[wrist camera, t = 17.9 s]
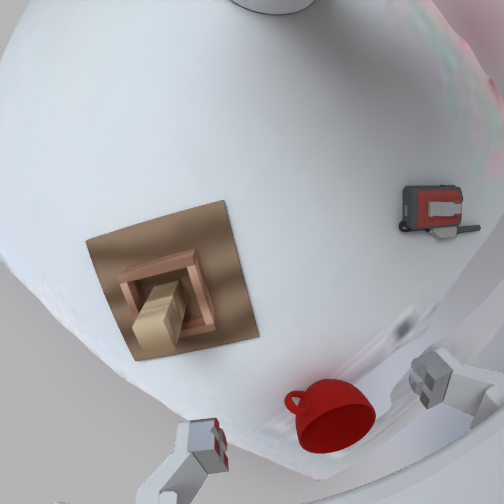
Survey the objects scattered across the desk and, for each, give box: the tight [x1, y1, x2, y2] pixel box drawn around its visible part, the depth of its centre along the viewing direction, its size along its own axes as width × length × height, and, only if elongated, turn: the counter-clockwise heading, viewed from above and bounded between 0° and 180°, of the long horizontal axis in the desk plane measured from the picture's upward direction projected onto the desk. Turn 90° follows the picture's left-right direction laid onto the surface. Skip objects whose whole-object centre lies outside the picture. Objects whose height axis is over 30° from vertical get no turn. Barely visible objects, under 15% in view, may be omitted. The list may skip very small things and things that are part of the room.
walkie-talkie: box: [399, 185, 481, 239], centre depth 39 cm, size 9×4×20 cm
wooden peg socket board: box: [85, 200, 259, 361], centre depth 37 cm, size 20×20×5 cm
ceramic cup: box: [284, 379, 376, 454], centre depth 42 cm, size 13×17×10 cm
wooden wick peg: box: [132, 278, 187, 356], centre depth 33 cm, size 4×4×12 cm
